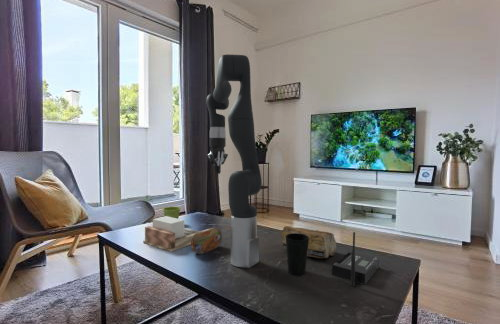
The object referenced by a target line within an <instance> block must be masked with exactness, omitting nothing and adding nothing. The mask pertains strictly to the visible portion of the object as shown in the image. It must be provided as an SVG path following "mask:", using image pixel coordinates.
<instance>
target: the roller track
mask: <svg viewBox="0 0 500 324" xmlns="http://www.w3.org/2000/svg"><path fill="white" fill-rule="evenodd" d="M203 230H204V229H203ZM203 230H200V231H203ZM200 231H199V230H195V229H191V228H186V227H184V237H181V238H178V239H175V233H173V232H169V231H165V230H162V229H158V228H154V227H153V226H151V225H148V226H145V227H144V240H143V241H142V242H143V244H146V245H149V246H151V247H155V248H157V249H161V250H164V251H167V252H170V253H172V252H174V251H177V250H180V249H182V248H185V247H188V246H191V239H192V237H193V236H194V234H196V233H197V232H200Z"/></svg>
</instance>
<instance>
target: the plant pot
mask: <svg viewBox="0 0 500 324" xmlns="http://www.w3.org/2000/svg"><path fill="white" fill-rule="evenodd" d="M162 211H163V214H164V216H168V217H173V218H177V219H180V218H179V216H180V212H181V207H180V206H167V207H163V208H162Z"/></svg>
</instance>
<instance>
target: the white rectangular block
mask: <svg viewBox="0 0 500 324" xmlns="http://www.w3.org/2000/svg"><path fill="white" fill-rule="evenodd" d="M152 227H154V228H158V229H162V230H165V231H169V232H173V233H175V239H178V238H181V237H184V228H185V220H184V219H182V218H178V219H177V218H173V217H168V216H165V215H164V216H161V217H156V218H152Z"/></svg>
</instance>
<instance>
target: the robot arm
mask: <svg viewBox="0 0 500 324" xmlns="http://www.w3.org/2000/svg"><path fill="white" fill-rule="evenodd" d="M216 73H217V74H216V80H215V81H216V82H215V88H214V89H213V93H209V94H208V95H207V97H206V101H205V102H206V106H207V109H208V113H209V122H210V125H209V128H210V129H209V147H210V152H209V153H208V154H206V158H207V159H208V161H209V162H210V165H212V166H213V167H214V174H215V175H220V174H221V169H222V165H224V164H225V162H226V160H227V159H228V155H229V154H228V153H225V148H226V145H227V144H226V141H227V138H226V136H227V135H226V132H227V131H226V116H225V115H223V114H220V113H217V112H216V110H217V111H224V110H227V109H228V108H229V105H230V99H229V98H230V96H231V93H232V85H231V83H230V82H239V85H240V86H239V93H238V96H237V97H236V99H235V101H234V104H233V105H232V107H231V109H230V110H229V114H228V116H227V124H228V132H229V137H230V139H231V142H232V144H233V145H234V147H235V149H236V150H237V152H238V154H239V156H240V161H241V165H242V166H241V168H242V170H236V171H233V172H232V173H231V174H230V176H229V178H228V182H227V183H228V184H227V185H228V186H227V187H228V190H227V191H228V206H229V209H230V264H231V265H232V266H234V267H238V268H247V269H249V268H252V267H253V266H255V265H257V264H258V263H259V258H260V257H259V255H260V253H259V252H260V251H259V250H260V247H259V246H260V244H259V243H260V240H259V239H260V237H259V236H258V235H257V231H258V230H257V224H258V222H257V221H258V219H257V218H258V210H257V207H256V206H254V205H252V204H250V201H249V199H250V197H251V196H254V195H257V194H258V193H259V192H260V191H261V189H262V185H263V184H262V182H263V181H262V175H261V169H260V165H259V159H258V154H257V153H258V152H257V144H256V133H255V122H254V112H253V105H252V104H253V103H252V91H251V85H252V83H251V65H250V59H249V57H248V56H247V55H244V54H223V55H221V56H220V58H219V61H218V64H217V72H216Z"/></svg>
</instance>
